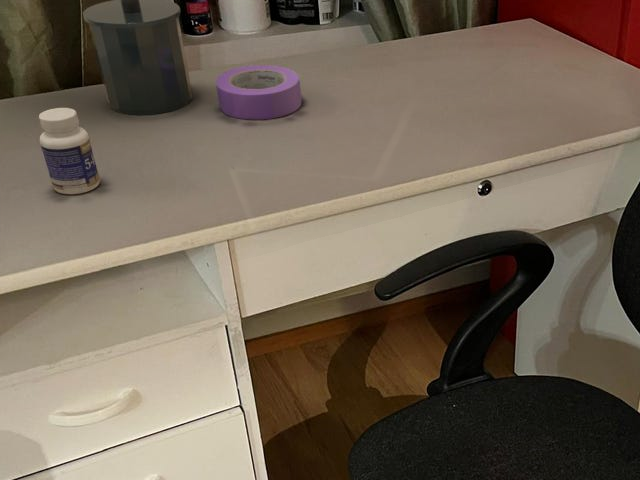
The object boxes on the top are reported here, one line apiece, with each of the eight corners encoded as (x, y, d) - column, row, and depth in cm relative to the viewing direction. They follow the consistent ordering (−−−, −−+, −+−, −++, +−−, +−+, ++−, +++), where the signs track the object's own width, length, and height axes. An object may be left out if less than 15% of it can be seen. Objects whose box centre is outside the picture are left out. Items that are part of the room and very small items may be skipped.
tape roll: (288, 122, 120) (285, 95, 118) (207, 117, 121) (203, 90, 119) (311, 93, 130) (308, 67, 127) (235, 88, 131) (232, 62, 128)
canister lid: (75, 33, 113) (65, -4, 111) (96, 7, 123) (87, -28, 120) (174, 32, 115) (167, -5, 112) (186, 6, 125) (180, -29, 122)
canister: (100, 116, 121) (79, 27, 113) (117, 87, 130) (97, 3, 123) (186, 113, 122) (170, 26, 115) (196, 85, 131) (182, 2, 124)
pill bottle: (101, 191, 102) (82, 119, 97) (53, 198, 101) (31, 125, 95) (99, 173, 106) (81, 103, 101) (53, 179, 105) (32, 108, 99)
